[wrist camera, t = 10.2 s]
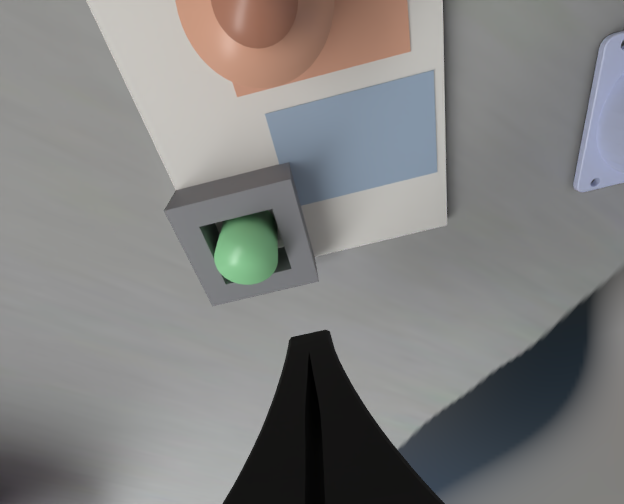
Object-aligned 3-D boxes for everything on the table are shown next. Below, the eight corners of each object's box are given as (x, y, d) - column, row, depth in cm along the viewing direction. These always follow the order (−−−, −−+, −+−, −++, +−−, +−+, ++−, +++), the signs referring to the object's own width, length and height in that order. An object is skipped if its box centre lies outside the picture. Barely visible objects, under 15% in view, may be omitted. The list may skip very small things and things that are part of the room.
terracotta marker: (295, -62, 14) (316, -152, 7) (321, 55, 16) (355, 66, 9) (195, -29, 14) (127, -87, 7) (234, 82, 16) (208, 112, 9)
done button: (268, 198, 19) (267, 225, 16) (283, 245, 20) (284, 276, 18) (213, 211, 19) (204, 241, 16) (233, 257, 20) (227, 290, 18)
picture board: (432, -163, 13) (471, -209, 10) (443, 220, 22) (465, 246, 19) (66, -56, 14) (18, -74, 11) (219, 273, 22) (212, 306, 20)
